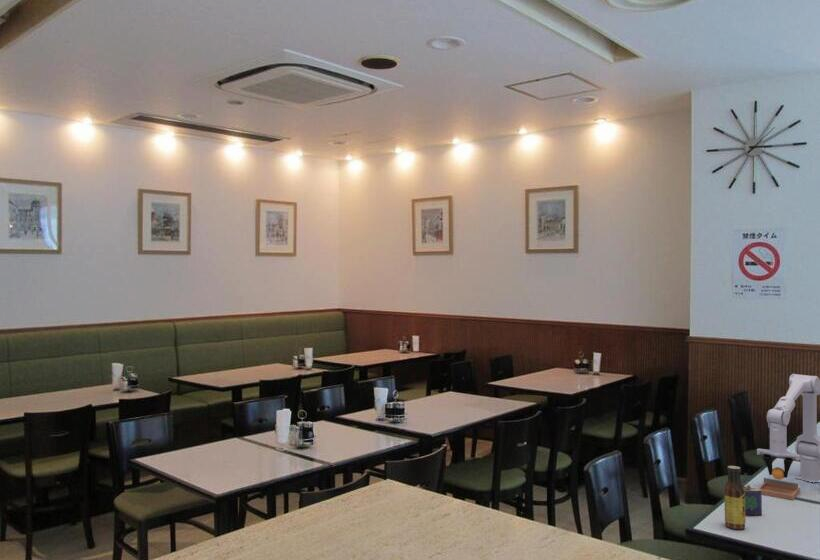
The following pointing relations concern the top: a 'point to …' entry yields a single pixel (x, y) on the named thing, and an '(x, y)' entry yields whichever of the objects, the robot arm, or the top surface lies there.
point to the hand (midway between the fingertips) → (778, 475)
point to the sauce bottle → (734, 499)
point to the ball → (778, 473)
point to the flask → (753, 501)
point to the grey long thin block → (781, 482)
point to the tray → (779, 490)
